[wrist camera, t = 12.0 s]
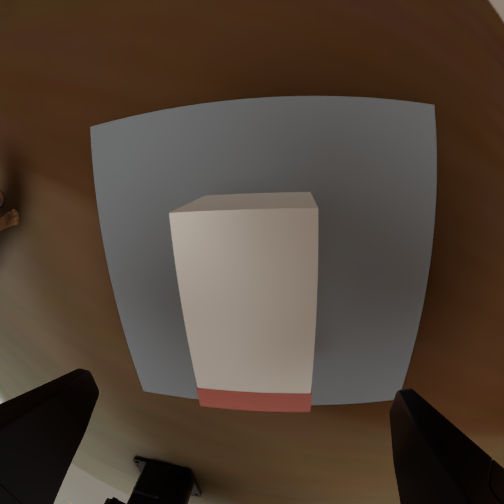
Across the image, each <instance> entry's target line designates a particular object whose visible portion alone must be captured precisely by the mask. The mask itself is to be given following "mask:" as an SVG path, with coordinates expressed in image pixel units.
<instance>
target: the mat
mask: <svg viewBox="0 0 504 504" xmlns="http://www.w3.org/2000/svg"><path fill="white" fill-rule="evenodd" d="M90 130H91V148H92V161H93V172H94V182H95V191H96V199H97V206H98V213H99V220H100V226H101V232H102V238H103V244H104V249H105V254H106V260H107V264H108V269H109V274H110V278H111V283H112V287H113V291H114V295H115V300H116V304H117V307H118V311H119V315H120V319H121V322H122V326H123V329H124V333H125V336H126V340H127V343H128V346H129V349H130V353H131V356H132V359H133V362H134V365H135V368H136V371H137V374H138V377H139V380H140V382H141V385H142V388H143V391H147V392H152V393H158V394H164V395H171V396H177V397H184V398H192V399H199V398H198V394H197V390H196V388H197V383H196V378H195V374H194V369H193V364H192V359H191V354H190V349H189V344H188V339H187V334H186V328H185V323H184V317H183V311H182V305H181V299H180V293H179V286H178V280H177V273H176V266H175V259H174V251H173V244H172V236H171V227H170V219H169V213H170V212H172V211H174V210H176V209H178V208H180V207H182V206H184V205H186V204H188V203H190V202H192V201H195V200H197V199H199V198H201V197H203V196H205V195H224V194H246V193H276V192H311V194H312V196H313V198H314V200H315V202H316V204H317V206H318V284H317V311H316V330H315V347H314V361H313V374H312V399H311V405H335V404H353V403H367V402H378V401H387V400H394V398H395V395H396V392H397V391H398V390H401V389H402V386H403V383H404V379H405V376H406V373H407V369H408V366H409V362H410V359H411V355H412V352H413V348H414V344H415V340H416V336H417V332H418V327H419V323H420V318H421V313H422V309H423V304H424V298H425V293H426V287H427V281H428V275H429V268H430V261H431V253H432V244H433V235H434V224H435V210H436V189H437V142H436V122H435V108H434V105H432V104H425V103H418V102H410V101H401V100H391V99H380V98H366V97H347V96H284V97H264V98H250V99H238V100H228V101H219V102H211V103H203V104H196V105H189V106H183V107H177V108H171V109H166V110H160V111H155V112H150V113H145V114H140V115H136V116H131V117H127V118H123V119H119V120H115V121H111V122H107V123H103V124H99V125H96V126H92V127H90Z"/></svg>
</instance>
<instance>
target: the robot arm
mask: <svg viewBox="0 0 504 504" xmlns="http://www.w3.org/2000/svg"><path fill="white" fill-rule="evenodd" d="M98 396H99V390H98V387H97V385H96V383H95V380H94V378H93V376H92V374H91V372H90V371H88V370H84V369H76V370H74V371H72V372H70V373H68V374H65V375H63V376H61V377H59V378H57V379H55V380H53V381H50V382H48V383H46V384H44V385H42V386H40V387H37V388H35V389H33V390H31V391H29V392H26V393H24V394H22V395H20V396H17V397H15V398H13V399H11V400H8V401H6V402H4V403H2V404H0V504H53V503H54V501H55V498H56V496H57V494H58V491H59V489H60V487H61V484H62V482H63V480H64V477H65V475H66V473H67V470H68V468H69V466H70V464H71V462H72V459H73V457H74V455H75V453H76V451H77V449H78V447H79V444H80V442H81V440H82V438H83V436H84V434H85V431H86V429H87V426H88V423H89V420H90V418H91V415H92V412H93V409H94V407H95V404H96V401H97V399H98ZM390 426H391V436H392V449H393V461H394V468H395V474H396V479H397V485H398V491H399V497H400V503H401V504H504V468H503V467H502V466H500V465H499V464H498V463H497V462H496V461H495V460H492V458H491V457H490V456H489V455H488V454H486V453H485V452H484V451H483V450H482V449H481V448H480V447H478V446H477V445H476V444H475V443H474V442H473V441H472V440H470V439H469V438H468V437H467V436H466V435H465V434H464V433H462V432H461V431H460V430H459V429H458V428H457V427H455V426H454V425H453V424H452V423H451V422H450V421H449V420H447V419H446V418H445V417H444V416H443V415H442V414H441V413H439V412H438V411H437V410H436V409H435V408H434V407H432V406H431V405H430V404H429V403H428V402H427V401H426V400H424V399H423V398H422V397H421V396H420V395H419V394H418V393H416V392H415V391H414V390H413V389H403V390H398V391H397V392H396V395H395V398H394V401H393V404H392V407H391V410H390ZM133 461H134V463H135V464H136V466H137V467H138V469H139V471H140V472H141V474H140V476H139V478H138V480H137V482H136V485H135V487H134V489H133V492H132V494H131V496H130V498H129V500H128V503H127V504H188V501H189V498H190V495H193V496H201V491H200V489H199V487H198V484H197V482H196V480H195V478H194V476H193V473H192V471H191V470H189V469H186V468H181V467H177V466H172V465H167V464H163V463H159V462H154V461H150V460H147V459H143V458H139V457H134V459H133ZM104 504H125V503H123V502H121V501H119V500H118V499H117V498H114V497H113V498H112V499H109V498H107V500H106V501H105V503H104Z"/></svg>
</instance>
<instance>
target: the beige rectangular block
mask: <svg viewBox="0 0 504 504" xmlns="http://www.w3.org/2000/svg"><path fill="white" fill-rule="evenodd" d="M169 219H170V227H171V236H172V244H173V251H174V259H175V266H176V273H177V280H178V286H179V293H180V299H181V305H182V311H183V317H184V323H185V328H186V334H187V339H188V344H189V349H190V354H191V359H192V364H193V369H194V374H195V378H196V383H197V388H196V390H197V394H198V398H199V402H200V406H206V407H215V408H225V409H236V410H250V411H271V412H310V409H311V399H312V374H313V361H314V347H315V330H316V311H317V284H318V206H317V204H316V202H315V200H314V198H313V196H312V194H311V192H276V193H246V194H224V195H205V196H203V197H201V198H199V199H197V200H195V201H192V202H190V203H188V204H186V205H184V206H182V207H180V208H178V209H176V210H174V211H172V212H170V213H169Z"/></svg>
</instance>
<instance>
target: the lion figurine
mask: <svg viewBox="0 0 504 504" xmlns="http://www.w3.org/2000/svg"><path fill="white" fill-rule="evenodd" d="M2 203H3V195H2V192H0V206H1V205H2ZM18 223H19V213H18V212H17V211H16V210H15V209H13V210H11V212H8V213H6V214H5V215H4V216H2V217H1V218H0V231H1V230H4V229H6V228H8V227H11V226H15V225H17V224H18Z"/></svg>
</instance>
